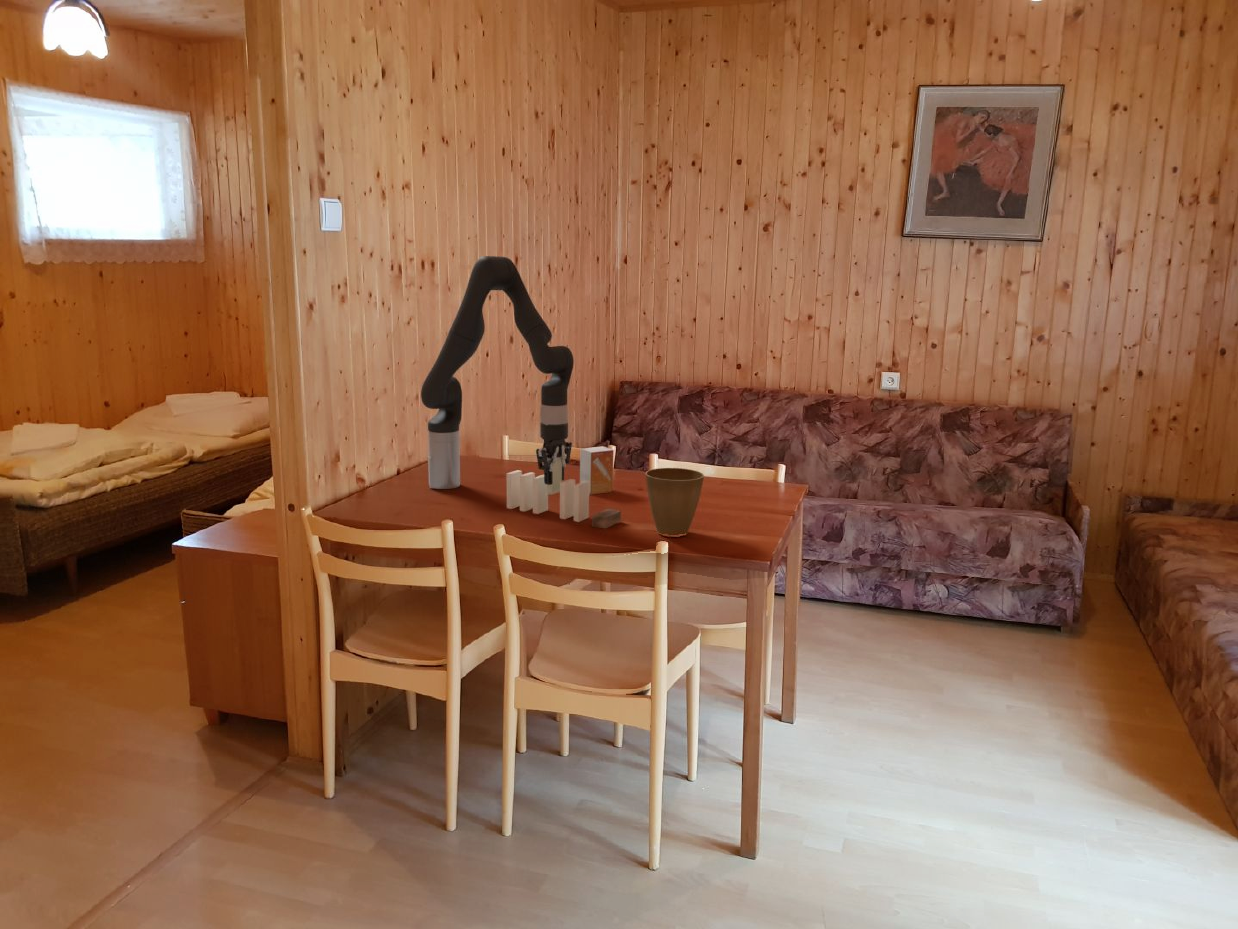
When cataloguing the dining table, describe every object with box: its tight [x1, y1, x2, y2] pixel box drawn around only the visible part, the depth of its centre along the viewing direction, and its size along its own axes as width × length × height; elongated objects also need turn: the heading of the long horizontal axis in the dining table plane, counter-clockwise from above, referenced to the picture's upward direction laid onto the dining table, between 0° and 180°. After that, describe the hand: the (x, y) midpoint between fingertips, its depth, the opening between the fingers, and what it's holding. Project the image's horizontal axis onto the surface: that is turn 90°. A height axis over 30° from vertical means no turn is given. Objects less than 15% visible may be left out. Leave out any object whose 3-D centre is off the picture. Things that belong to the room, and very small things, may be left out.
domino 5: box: [559, 478, 576, 520], centre depth 263 cm, size 2×5×10 cm, turn 149°
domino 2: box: [519, 471, 536, 512], centre depth 270 cm, size 2×5×10 cm, turn 149°
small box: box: [579, 446, 614, 496], centre depth 290 cm, size 8×6×13 cm
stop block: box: [591, 508, 622, 530], centre depth 257 cm, size 4×8×3 cm, turn 149°
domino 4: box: [547, 457, 563, 495], centre depth 264 cm, size 2×5×10 cm, turn 149°
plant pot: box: [645, 467, 705, 535], centre depth 249 cm, size 15×15×16 cm
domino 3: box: [532, 473, 549, 515], centre depth 267 cm, size 2×5×10 cm, turn 149°
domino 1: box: [506, 469, 523, 510], centre depth 272 cm, size 2×5×10 cm, turn 149°
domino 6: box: [573, 481, 590, 523], centre depth 261 cm, size 2×5×10 cm, turn 149°
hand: (554, 482), depth 264 cm, fingers closed on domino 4, 5 cm apart
